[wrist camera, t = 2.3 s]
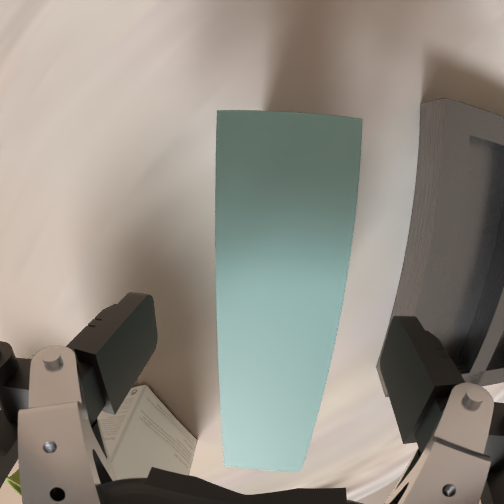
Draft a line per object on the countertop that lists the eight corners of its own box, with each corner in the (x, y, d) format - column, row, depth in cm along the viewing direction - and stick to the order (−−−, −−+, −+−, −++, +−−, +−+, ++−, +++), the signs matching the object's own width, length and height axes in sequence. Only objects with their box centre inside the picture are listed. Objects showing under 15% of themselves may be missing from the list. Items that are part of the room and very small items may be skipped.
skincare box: (102, 390, 23) (24, 516, 10) (150, 380, 22) (69, 539, 8) (155, 447, 26) (107, 566, 12) (204, 442, 24) (164, 583, 10)
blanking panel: (258, 130, 15) (217, 110, 6) (316, 134, 15) (362, 118, 6) (251, 331, 19) (224, 465, 10) (299, 334, 19) (300, 472, 10)
